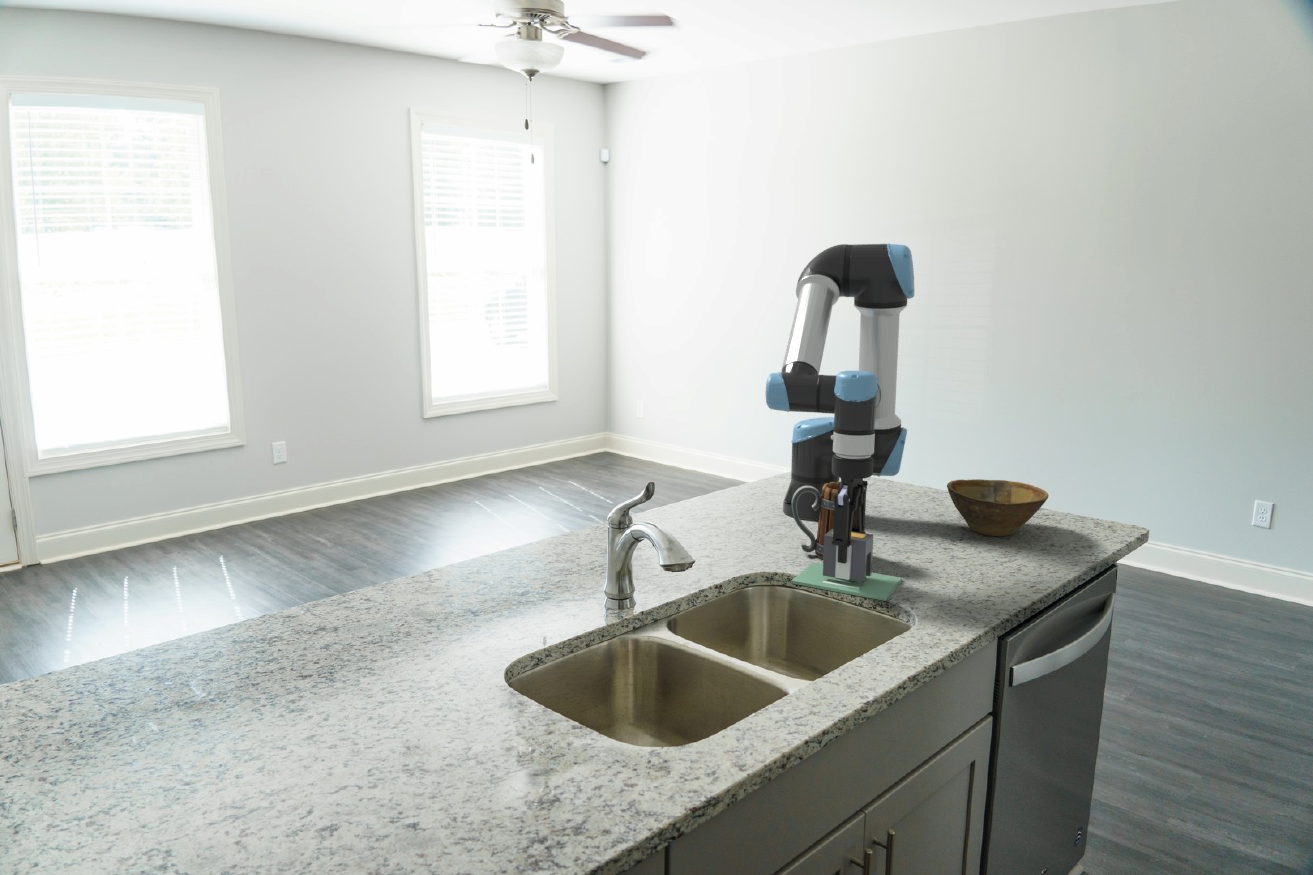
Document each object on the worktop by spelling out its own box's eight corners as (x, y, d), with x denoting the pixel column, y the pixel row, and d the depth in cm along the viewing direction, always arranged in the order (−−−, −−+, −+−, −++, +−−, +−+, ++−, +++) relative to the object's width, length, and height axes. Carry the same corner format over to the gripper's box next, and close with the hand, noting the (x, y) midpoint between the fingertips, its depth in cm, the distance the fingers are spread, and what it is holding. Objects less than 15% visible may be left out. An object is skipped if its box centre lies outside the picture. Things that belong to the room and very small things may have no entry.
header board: (812, 565, 179) (813, 543, 178) (901, 580, 170) (903, 557, 169) (791, 583, 169) (792, 560, 168) (885, 600, 160) (886, 576, 159)
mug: (861, 548, 190) (864, 480, 187) (869, 564, 179) (873, 493, 177) (788, 546, 191) (790, 479, 188) (792, 562, 180) (794, 491, 178)
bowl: (1053, 526, 207) (1057, 484, 205) (1035, 552, 188) (1039, 506, 186) (957, 512, 218) (960, 472, 217) (931, 535, 200) (934, 492, 198)
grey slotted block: (830, 567, 173) (832, 527, 172) (871, 574, 169) (873, 533, 168) (822, 575, 169) (824, 534, 167) (864, 582, 165) (866, 540, 164)
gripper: (847, 444, 174) (842, 557, 179) (817, 461, 159) (812, 584, 163) (885, 448, 171) (879, 563, 175) (858, 466, 155) (852, 591, 160)
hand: (847, 573), depth 169 cm, fingers closed on grey slotted block, 5 cm apart
